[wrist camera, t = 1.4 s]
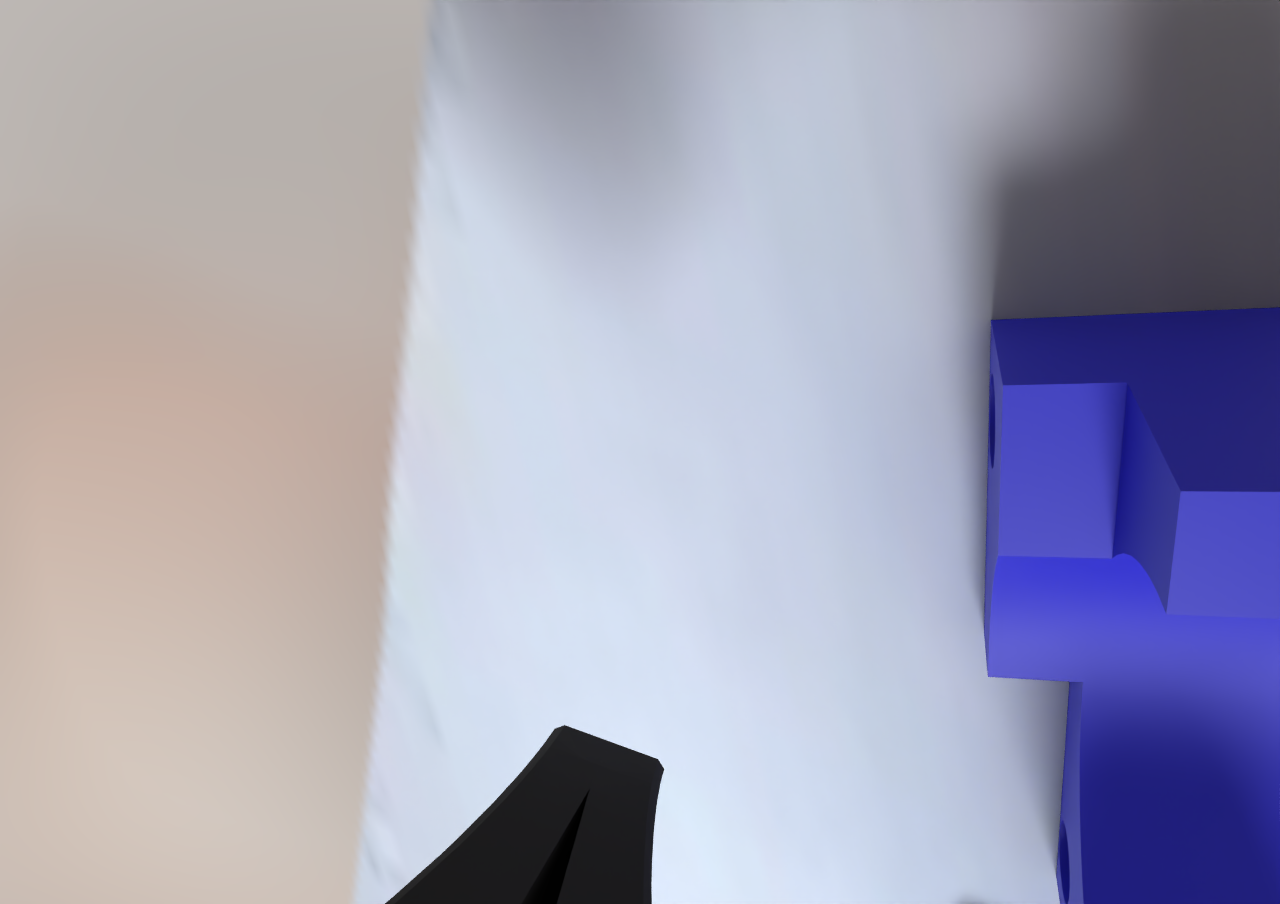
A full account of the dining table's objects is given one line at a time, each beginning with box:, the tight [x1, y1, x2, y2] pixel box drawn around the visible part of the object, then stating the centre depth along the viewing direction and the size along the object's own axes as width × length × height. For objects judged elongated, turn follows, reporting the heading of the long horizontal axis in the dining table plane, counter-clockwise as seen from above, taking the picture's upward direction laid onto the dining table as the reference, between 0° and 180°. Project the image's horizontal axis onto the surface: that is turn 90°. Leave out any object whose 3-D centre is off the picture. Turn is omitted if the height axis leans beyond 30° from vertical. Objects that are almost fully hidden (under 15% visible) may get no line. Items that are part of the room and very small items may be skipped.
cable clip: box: [984, 307, 1280, 904], centre depth 14 cm, size 12×4×6 cm, turn 7°
